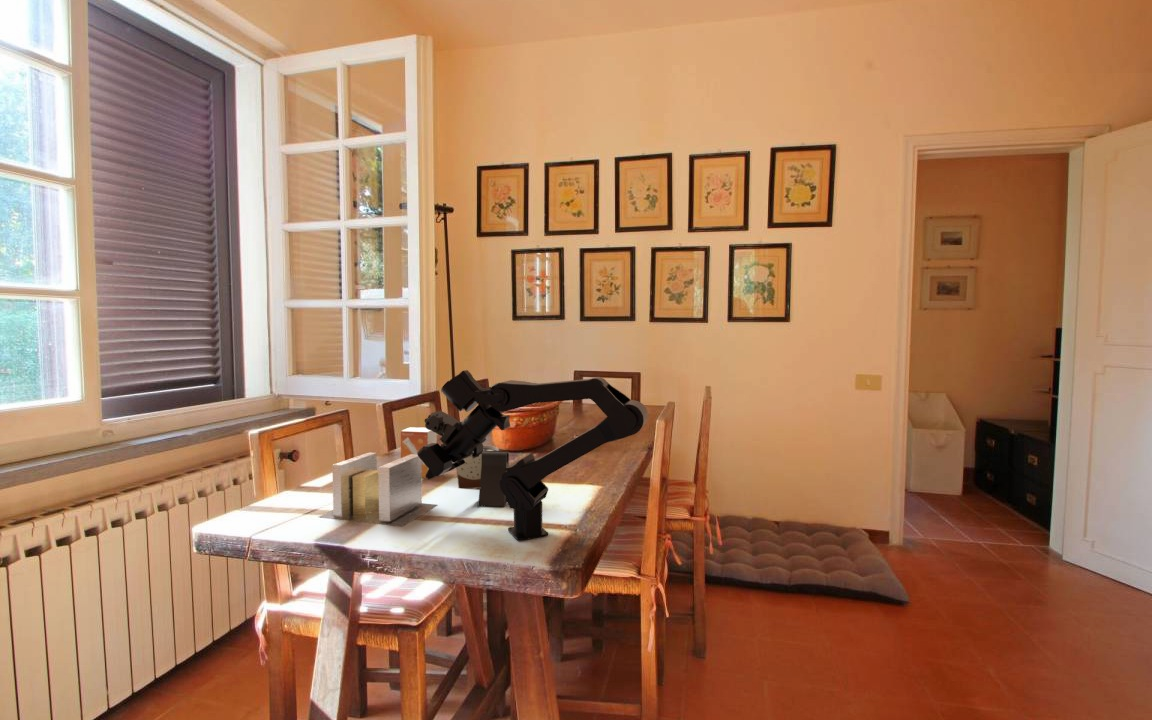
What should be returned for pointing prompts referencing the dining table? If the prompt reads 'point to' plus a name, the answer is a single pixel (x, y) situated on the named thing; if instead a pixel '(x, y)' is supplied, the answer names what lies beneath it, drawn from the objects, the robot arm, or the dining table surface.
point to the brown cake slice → (471, 470)
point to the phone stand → (492, 478)
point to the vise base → (376, 516)
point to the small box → (416, 443)
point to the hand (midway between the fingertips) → (427, 477)
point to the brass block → (365, 492)
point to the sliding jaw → (399, 487)
